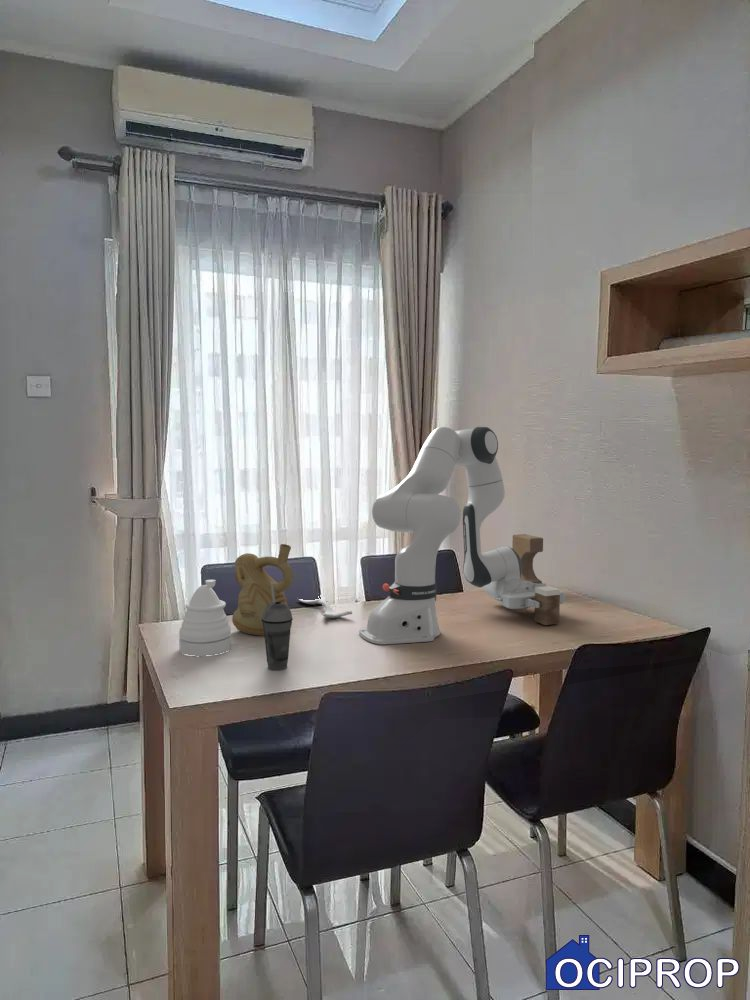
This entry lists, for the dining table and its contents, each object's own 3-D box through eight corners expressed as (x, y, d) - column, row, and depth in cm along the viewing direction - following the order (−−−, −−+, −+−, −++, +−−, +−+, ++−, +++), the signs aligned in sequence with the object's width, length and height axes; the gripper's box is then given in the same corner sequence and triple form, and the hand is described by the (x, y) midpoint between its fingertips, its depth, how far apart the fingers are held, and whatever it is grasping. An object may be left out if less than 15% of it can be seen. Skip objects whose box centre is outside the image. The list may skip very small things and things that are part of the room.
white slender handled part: (324, 624, 200) (324, 613, 200) (294, 600, 230) (294, 590, 229) (353, 621, 204) (353, 610, 203) (320, 598, 233) (320, 588, 233)
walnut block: (545, 625, 197) (546, 591, 197) (534, 620, 202) (535, 587, 201) (559, 623, 200) (560, 589, 199) (548, 619, 204) (549, 586, 203)
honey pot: (241, 645, 179) (240, 577, 177) (210, 659, 167) (208, 587, 166) (201, 639, 184) (200, 573, 183) (168, 653, 172) (166, 582, 171)
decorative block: (542, 594, 239) (544, 537, 237) (528, 596, 237) (530, 538, 235) (524, 588, 249) (525, 533, 247) (510, 589, 247) (511, 534, 245)
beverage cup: (292, 672, 158) (291, 586, 157) (260, 672, 158) (259, 587, 156) (293, 661, 166) (293, 580, 164) (263, 662, 165) (262, 580, 163)
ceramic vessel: (254, 619, 205) (253, 536, 203) (309, 627, 196) (308, 541, 194) (215, 633, 190) (214, 543, 188) (273, 643, 181) (272, 549, 179)
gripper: (492, 586, 208) (519, 596, 195) (547, 581, 216) (576, 590, 203) (492, 607, 208) (519, 618, 196) (546, 601, 216) (576, 611, 204)
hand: (549, 604), depth 199 cm, fingers closed on walnut block, 5 cm apart
